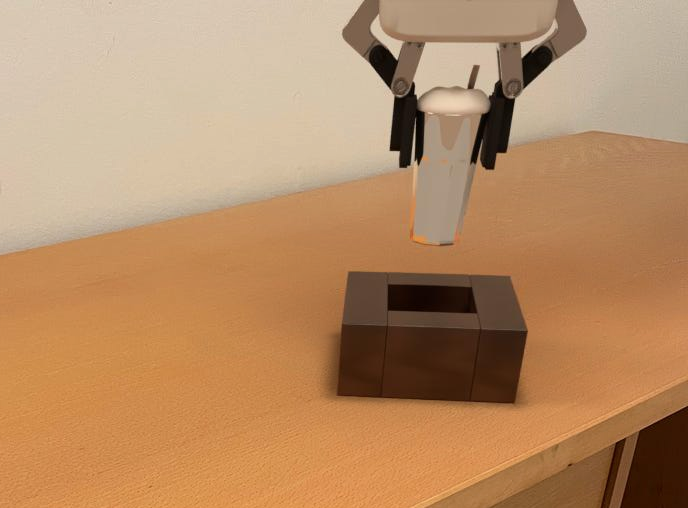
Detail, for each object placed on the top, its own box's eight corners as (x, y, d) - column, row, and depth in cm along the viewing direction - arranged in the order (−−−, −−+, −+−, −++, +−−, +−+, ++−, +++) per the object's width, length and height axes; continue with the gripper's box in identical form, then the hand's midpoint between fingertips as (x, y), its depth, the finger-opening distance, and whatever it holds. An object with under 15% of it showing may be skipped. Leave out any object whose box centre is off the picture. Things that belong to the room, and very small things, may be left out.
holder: (499, 341, 75) (510, 275, 72) (515, 403, 66) (528, 329, 63) (343, 335, 77) (348, 270, 74) (336, 395, 67) (341, 323, 64)
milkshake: (483, 235, 67) (511, 67, 61) (452, 253, 63) (479, 76, 57) (422, 225, 69) (443, 62, 63) (388, 242, 65) (408, 70, 59)
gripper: (330, -209, 50) (311, 174, 61) (672, -218, 48) (589, 180, 59) (336, -195, 56) (318, 151, 67) (641, -203, 54) (571, 156, 65)
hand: (445, 161), depth 63 cm, fingers closed on milkshake, 4 cm apart
